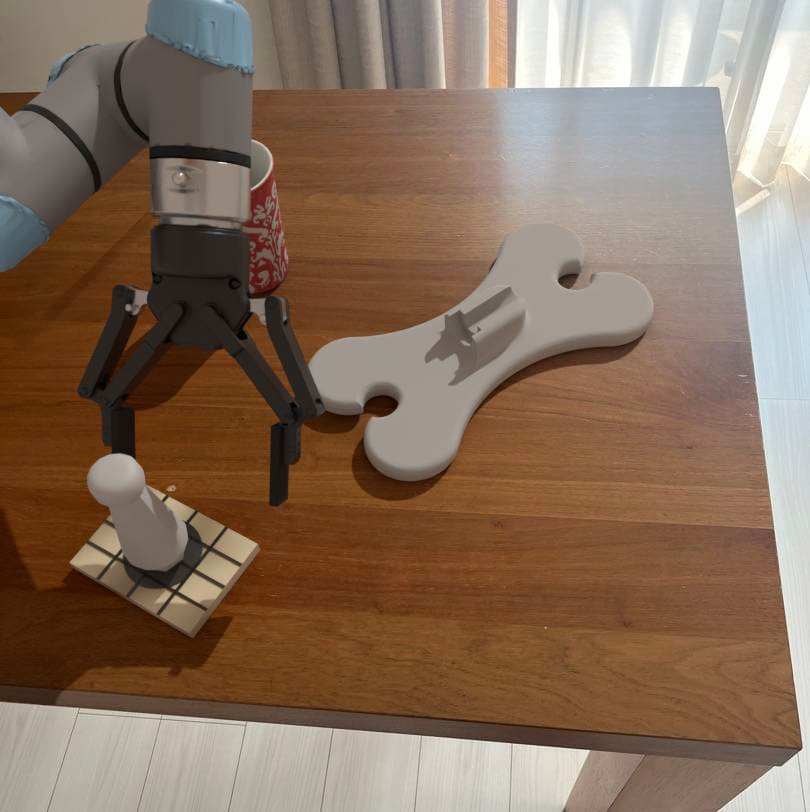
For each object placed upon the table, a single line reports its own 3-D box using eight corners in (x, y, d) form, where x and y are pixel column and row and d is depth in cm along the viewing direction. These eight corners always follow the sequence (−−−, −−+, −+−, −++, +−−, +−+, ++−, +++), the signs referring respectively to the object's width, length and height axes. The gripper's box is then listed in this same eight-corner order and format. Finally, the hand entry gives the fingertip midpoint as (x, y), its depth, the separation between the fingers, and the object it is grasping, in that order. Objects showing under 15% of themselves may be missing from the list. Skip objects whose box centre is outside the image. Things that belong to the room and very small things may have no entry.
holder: (670, 318, 90) (680, 282, 85) (402, 501, 81) (398, 470, 77) (545, 221, 98) (548, 183, 94) (290, 378, 90) (280, 344, 85)
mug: (292, 301, 95) (265, 197, 83) (210, 301, 96) (172, 198, 84) (307, 219, 101) (284, 112, 89) (230, 220, 102) (198, 114, 90)
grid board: (74, 568, 81) (68, 562, 79) (143, 487, 84) (139, 480, 83) (193, 639, 76) (188, 632, 75) (260, 550, 80) (257, 543, 79)
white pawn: (183, 585, 77) (132, 507, 66) (122, 576, 78) (61, 498, 67) (202, 528, 80) (156, 444, 69) (144, 520, 81) (88, 436, 70)
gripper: (23, 212, 66) (37, 487, 72) (346, 231, 63) (333, 520, 69) (76, 220, 73) (85, 470, 79) (369, 238, 70) (356, 499, 76)
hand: (200, 494), depth 74 cm, fingers open, 13 cm apart
